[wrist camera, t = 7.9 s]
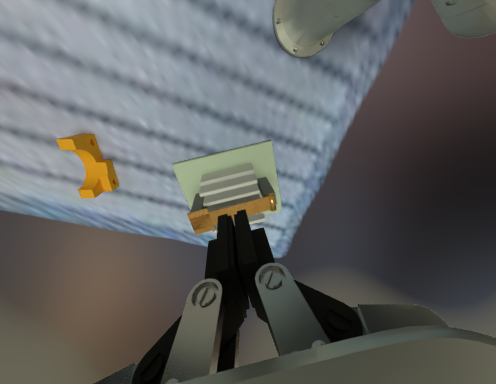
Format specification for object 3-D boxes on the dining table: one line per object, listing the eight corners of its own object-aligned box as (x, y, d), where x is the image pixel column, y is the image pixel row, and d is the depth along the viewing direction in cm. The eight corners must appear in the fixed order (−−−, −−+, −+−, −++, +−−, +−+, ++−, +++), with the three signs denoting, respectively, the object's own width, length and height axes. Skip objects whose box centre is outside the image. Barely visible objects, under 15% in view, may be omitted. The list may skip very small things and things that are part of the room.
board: (270, 140, 44) (283, 149, 34) (280, 208, 53) (293, 231, 43) (173, 163, 43) (159, 179, 34) (200, 228, 52) (195, 255, 43)
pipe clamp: (119, 185, 44) (104, 197, 38) (100, 185, 44) (81, 198, 38) (103, 134, 39) (82, 139, 33) (81, 134, 38) (56, 139, 33)
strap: (272, 189, 37) (274, 192, 36) (275, 209, 40) (277, 212, 38) (187, 212, 36) (187, 216, 35) (196, 231, 39) (195, 235, 37)
